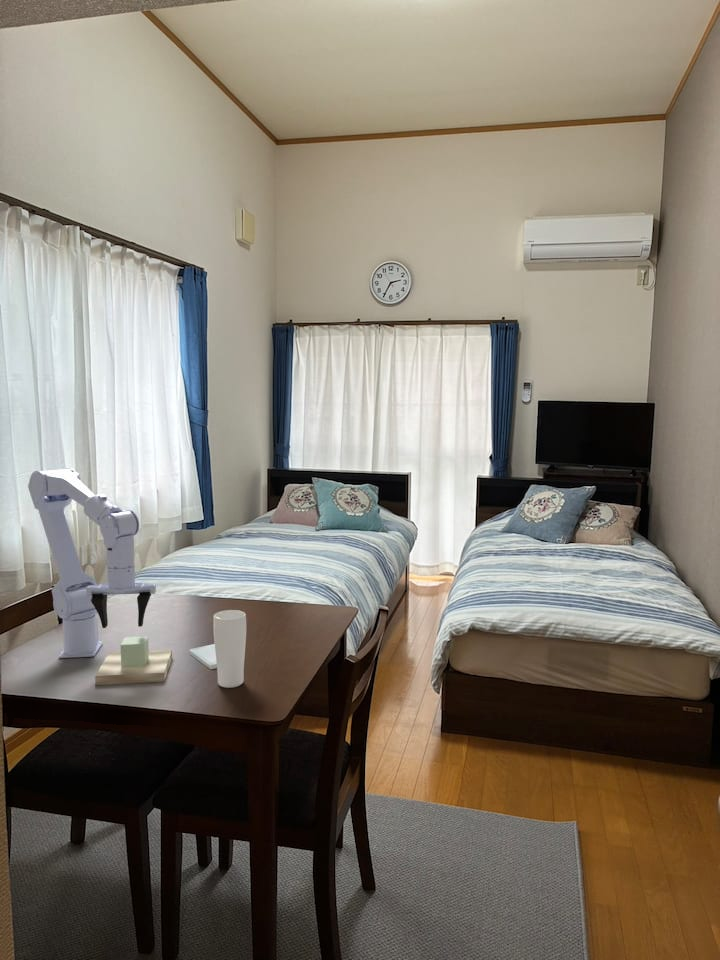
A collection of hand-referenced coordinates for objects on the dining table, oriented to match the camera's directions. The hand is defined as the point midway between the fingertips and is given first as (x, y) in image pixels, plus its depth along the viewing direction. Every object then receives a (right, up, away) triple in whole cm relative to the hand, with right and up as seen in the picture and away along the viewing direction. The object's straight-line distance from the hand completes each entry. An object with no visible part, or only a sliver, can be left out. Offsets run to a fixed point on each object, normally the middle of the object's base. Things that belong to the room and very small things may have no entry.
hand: (122, 625), depth 155 cm
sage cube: (+3, -8, -2) cm, 9 cm away
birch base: (+3, -10, -2) cm, 10 cm away
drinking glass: (+26, -11, -8) cm, 29 cm away
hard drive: (+19, -10, +7) cm, 23 cm away
